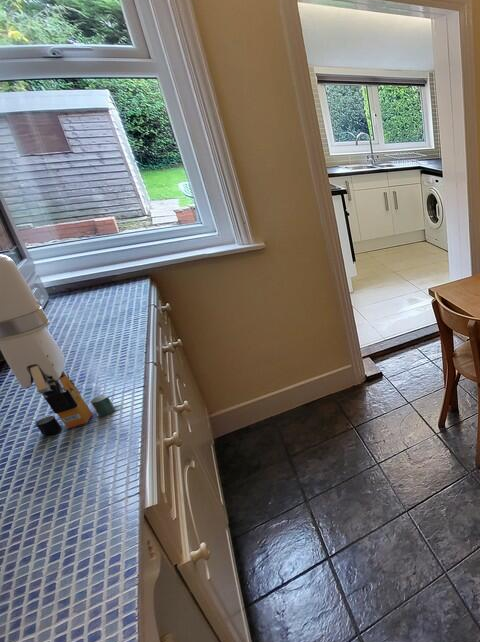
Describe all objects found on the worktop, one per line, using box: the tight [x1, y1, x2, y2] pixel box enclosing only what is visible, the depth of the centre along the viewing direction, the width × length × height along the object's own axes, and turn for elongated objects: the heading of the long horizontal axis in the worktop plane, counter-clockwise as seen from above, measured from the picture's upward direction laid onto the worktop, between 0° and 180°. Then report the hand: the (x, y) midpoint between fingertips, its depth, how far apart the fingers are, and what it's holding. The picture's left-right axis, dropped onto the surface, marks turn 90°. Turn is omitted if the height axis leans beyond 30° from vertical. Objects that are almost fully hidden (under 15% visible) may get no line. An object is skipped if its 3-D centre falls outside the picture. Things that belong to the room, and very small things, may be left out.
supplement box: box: [49, 376, 93, 429], centre depth 82 cm, size 3×4×10 cm
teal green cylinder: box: [90, 394, 116, 417], centre depth 85 cm, size 3×3×4 cm
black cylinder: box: [35, 415, 63, 438], centre depth 81 cm, size 3×3×3 cm
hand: (68, 403), depth 82 cm, fingers closed on supplement box, 3 cm apart
